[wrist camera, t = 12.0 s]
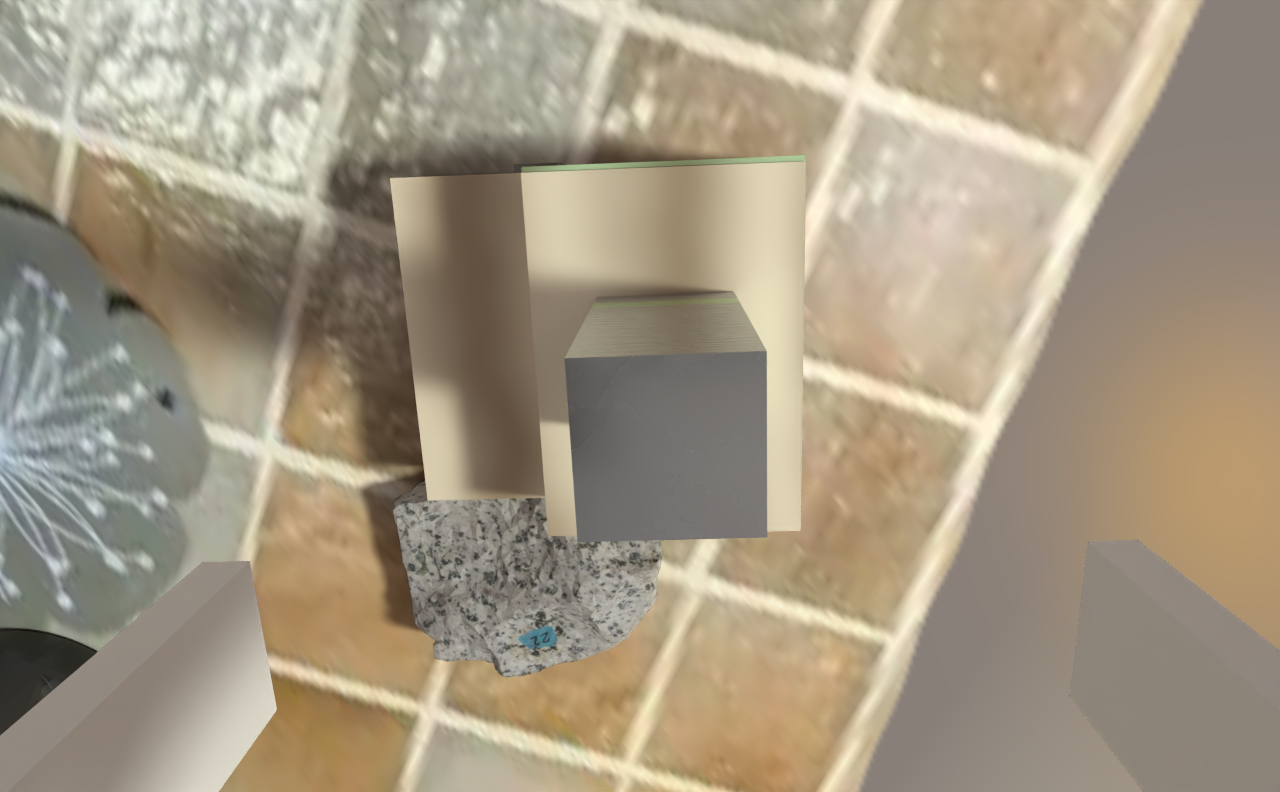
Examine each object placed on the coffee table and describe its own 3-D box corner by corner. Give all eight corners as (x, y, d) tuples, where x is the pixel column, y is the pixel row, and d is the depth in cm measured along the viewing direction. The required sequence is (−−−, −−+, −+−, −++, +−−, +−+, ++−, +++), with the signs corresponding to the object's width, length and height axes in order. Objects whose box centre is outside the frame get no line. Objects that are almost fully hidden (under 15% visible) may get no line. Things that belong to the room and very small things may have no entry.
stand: (450, 468, 40) (399, 539, 33) (418, 170, 37) (352, 170, 29) (774, 460, 40) (800, 530, 32) (776, 155, 36) (806, 152, 28)
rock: (429, 633, 44) (399, 694, 39) (405, 467, 41) (370, 510, 36) (668, 629, 43) (668, 690, 38) (661, 459, 40) (659, 502, 35)
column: (604, 426, 31) (577, 542, 22) (597, 296, 30) (564, 358, 20) (735, 422, 31) (767, 537, 21) (733, 291, 30) (766, 350, 20)
